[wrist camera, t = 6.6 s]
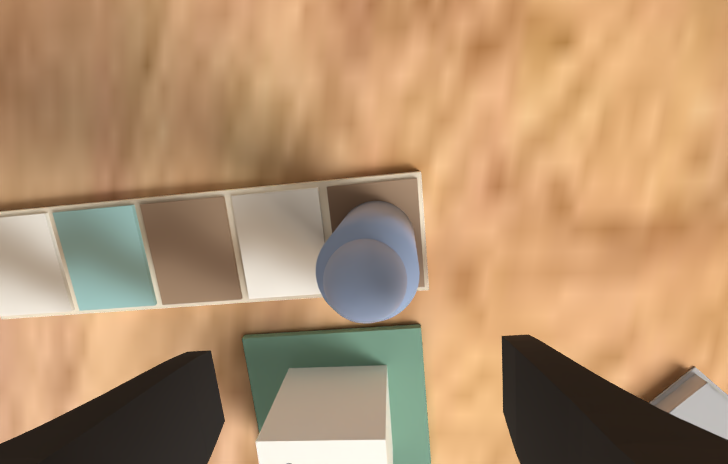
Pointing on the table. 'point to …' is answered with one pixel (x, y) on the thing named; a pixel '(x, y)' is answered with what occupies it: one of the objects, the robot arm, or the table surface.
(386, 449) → the die
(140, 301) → the board
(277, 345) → the mat
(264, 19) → the table surface
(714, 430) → the gadget
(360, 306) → the pawn
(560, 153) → the table surface
